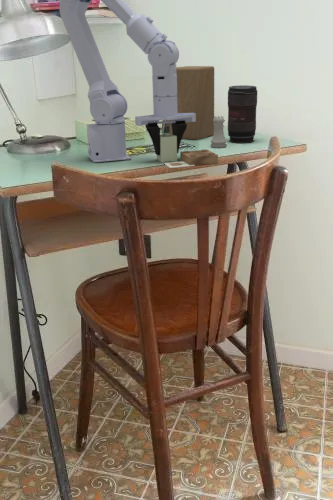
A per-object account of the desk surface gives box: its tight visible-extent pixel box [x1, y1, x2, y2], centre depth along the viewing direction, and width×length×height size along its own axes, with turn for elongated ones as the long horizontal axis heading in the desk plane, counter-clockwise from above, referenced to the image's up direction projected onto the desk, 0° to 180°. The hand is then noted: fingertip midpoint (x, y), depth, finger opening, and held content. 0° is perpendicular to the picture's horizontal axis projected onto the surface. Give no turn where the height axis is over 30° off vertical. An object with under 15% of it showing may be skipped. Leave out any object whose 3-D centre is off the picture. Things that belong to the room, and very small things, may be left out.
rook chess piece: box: [210, 115, 228, 149], centre depth 145 cm, size 4×4×8 cm
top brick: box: [156, 132, 178, 163], centre depth 131 cm, size 4×4×6 cm
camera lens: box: [227, 84, 258, 144], centre depth 151 cm, size 8×8×15 cm
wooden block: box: [168, 65, 215, 141], centre depth 160 cm, size 10×10×20 cm
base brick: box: [179, 149, 219, 166], centre depth 129 cm, size 7×7×2 cm
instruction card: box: [163, 161, 196, 169], centre depth 126 cm, size 6×5×1 cm
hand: (166, 153), depth 131 cm, fingers closed on top brick, 4 cm apart
